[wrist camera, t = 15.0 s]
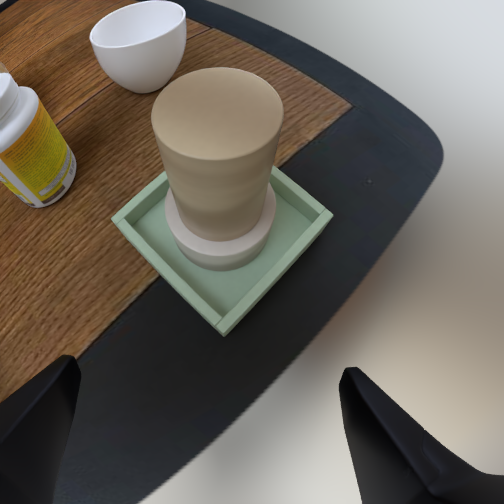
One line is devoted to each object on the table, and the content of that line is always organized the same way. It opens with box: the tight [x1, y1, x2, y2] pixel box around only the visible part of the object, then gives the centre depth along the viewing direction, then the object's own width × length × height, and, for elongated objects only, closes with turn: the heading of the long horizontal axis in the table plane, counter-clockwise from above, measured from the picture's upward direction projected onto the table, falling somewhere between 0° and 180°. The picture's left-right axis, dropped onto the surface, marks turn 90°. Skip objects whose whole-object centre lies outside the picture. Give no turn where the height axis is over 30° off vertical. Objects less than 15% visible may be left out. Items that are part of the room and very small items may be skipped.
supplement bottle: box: [0, 73, 76, 208], centre depth 16 cm, size 6×6×10 cm
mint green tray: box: [111, 165, 333, 337], centre depth 19 cm, size 9×9×3 cm
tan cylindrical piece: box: [151, 67, 284, 271], centre depth 14 cm, size 6×6×10 cm
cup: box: [90, 1, 186, 93], centre depth 22 cm, size 8×10×7 cm
